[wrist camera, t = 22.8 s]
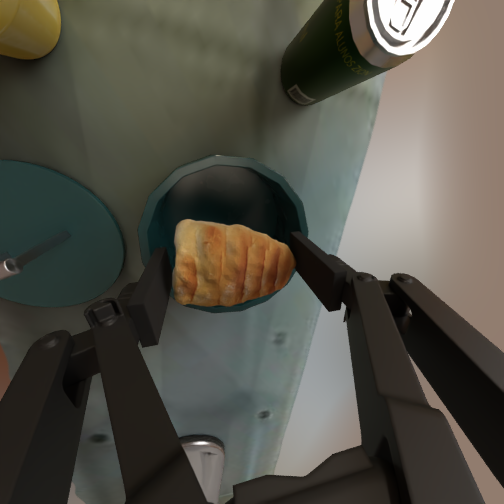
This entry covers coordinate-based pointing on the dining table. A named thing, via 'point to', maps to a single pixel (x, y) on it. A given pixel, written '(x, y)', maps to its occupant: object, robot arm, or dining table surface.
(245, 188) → the pot
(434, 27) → the beer can
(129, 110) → the dining table surface
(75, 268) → the lid
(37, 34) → the flower pot
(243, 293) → the pastry
